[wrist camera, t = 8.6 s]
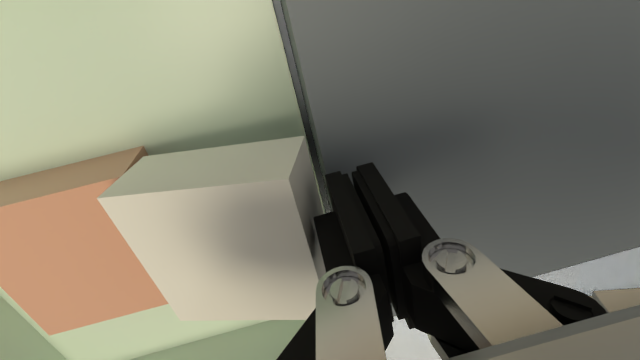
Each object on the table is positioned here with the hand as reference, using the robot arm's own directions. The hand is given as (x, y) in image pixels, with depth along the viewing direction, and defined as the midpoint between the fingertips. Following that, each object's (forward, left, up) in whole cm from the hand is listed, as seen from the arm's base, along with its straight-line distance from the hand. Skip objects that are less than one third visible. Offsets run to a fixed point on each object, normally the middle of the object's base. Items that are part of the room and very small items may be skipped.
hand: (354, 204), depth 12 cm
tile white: (+4, 0, -2) cm, 4 cm away
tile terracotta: (+10, 0, -4) cm, 11 cm away
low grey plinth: (-7, 0, -4) cm, 8 cm away
